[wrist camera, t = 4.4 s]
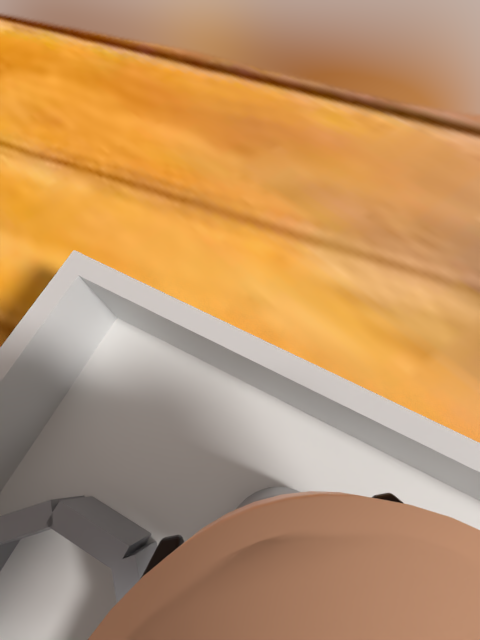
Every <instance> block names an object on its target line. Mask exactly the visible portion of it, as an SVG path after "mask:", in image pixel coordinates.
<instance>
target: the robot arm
mask: <svg viewBox="0 0 480 640" xmlns="http://www.w3.org/2000/svg"><path fill="white" fill-rule="evenodd" d="M372 498H377V499H382V500H387V501H393V502H398V503H403V502H402V501H401V500H399V499H398V498H397V497H396V496H395V495H393V494H391V493H383V494H378V495H374V496H373V497H372ZM183 543H184V540H183V537H182V536H181V535H173V536H168V537H164V538H162V539H161V541H160V542H159V544H158V546H157V548H156V550H155V552H154V554H153V556H152V557H151V559H150V561H149V563H148V565H147V567H146V569H145V571H144V573H143V575H142V577H143V576H144V575H145V574H146V573H148V572H149V571H150V570H151V569H153V568H154V567H155V566H156V565H157V564H159V563H160V562H161V561H162V560H163V559H165V558H166V557H167V556H168V555H169V554H171V553H172V552H173V551H174V550H176V549H177V548H178V547H179V546H180V545H182V544H183ZM142 577H141V578H142Z"/></svg>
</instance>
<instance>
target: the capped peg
mask: <svg viewBox="0 0 480 640" xmlns="http://www.w3.org/2000/svg"><path fill="white" fill-rule="evenodd" d="M88 640H480V530H479V529H476V528H474V527H472V526H470V525H467V524H465V523H463V522H461V521H459V520H456V519H454V518H452V517H448V516H445V515H442V514H439V513H436V512H432V511H429V510H426V509H423V508H419V507H416V506H413V505H409V504H404V503H398V502H393V501H387V500H382V499H377V498H371V497H366V496H360V495H354V494H348V493H342V492H321V491H308V492H299V491H297V490H294V489H291V488H285V487H270V488H266V489H262V490H260V491H257V492H255V493H253V494H252V495H250V496H249V497H247V498H246V499H245V500H244V501H243V502H242V503H241V504H240V505H239V506H238V507H237V508H236V510H234V511H231V512H229V513H227V514H225V515H223V516H222V517H220V518H218V519H217V520H215V521H213V522H212V523H210V524H208V525H207V526H205V527H203V528H202V529H201V530H199V531H198V532H197V533H196V534H194V535H193V536H192V537H191V538H189V539H188V540H187V541H185V542H184V543H183V544H182V545H180V546H179V547H178V548H177V549H176V550H174V551H173V552H172V553H171V554H169V555H168V556H167V557H166V558H165V559H163V560H162V561H161V562H160V563H159V564H157V565H156V566H155V567H154V568H153V569H151V570H150V571H149V572H148V573H146V574H145V575H144V576H143V577H142V578H141V579H140V580H139V581H138V582H137V583H136V584H135V585H134V586H133V587H132V588H131V589H130V590H129V591H128V592H127V593H126V594H125V595H124V596H123V598H122V599H121V600H120V601H119V602H118V603H117V604H116V605H115V606H114V607H113V608H112V609H111V610H110V611H109V612H108V614H107V615H106V616H105V618H104V619H103V620H102V622H101V623H100V624H99V625H98V627H97V628H96V629H95V631H94V632H93V633H92V635H91V636H90V637H89V638H88Z"/></svg>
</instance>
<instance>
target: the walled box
mask: <svg viewBox="0 0 480 640" xmlns="http://www.w3.org/2000/svg"><path fill="white" fill-rule="evenodd" d="M270 487H285V488H291V489H294V490H297V491H299V492H308V491H321V492H342V493H348V494H354V495H360V496H366V497H371V498H372V497H373V496H374V495H378V494H383V493H391V494H393V495H395V496H396V497H397V498H398V499H399V500H401V501H402V502H403V503H404V504H409V505H413V506H416V507H419V508H423V509H426V510H429V511H432V512H436V513H439V514H442V515H445V516H448V517H452V518H454V519H456V520H459V521H461V522H463V523H465V524H467V525H470V526H472V527H474V528H476V529H479V530H480V443H479V442H476V441H474V440H472V439H470V438H468V437H466V436H464V435H462V434H460V433H457V432H455V431H453V430H451V429H449V428H447V427H445V426H443V425H441V424H439V423H436V422H434V421H432V420H430V419H428V418H426V417H424V416H422V415H420V414H418V413H415V412H413V411H411V410H409V409H407V408H405V407H403V406H401V405H399V404H397V403H394V402H392V401H390V400H388V399H386V398H384V397H382V396H380V395H378V394H375V393H373V392H371V391H369V390H367V389H365V388H363V387H361V386H359V385H357V384H354V383H352V382H350V381H348V380H346V379H344V378H342V377H340V376H338V375H336V374H333V373H331V372H329V371H327V370H325V369H323V368H321V367H319V366H317V365H315V364H312V363H310V362H308V361H306V360H304V359H302V358H300V357H298V356H296V355H293V354H291V353H289V352H287V351H285V350H283V349H281V348H279V347H277V346H275V345H272V344H270V343H268V342H266V341H264V340H262V339H260V338H258V337H256V336H254V335H251V334H249V333H247V332H245V331H243V330H241V329H239V328H237V327H235V326H233V325H230V324H228V323H226V322H224V321H222V320H220V319H218V318H216V317H214V316H211V315H209V314H207V313H205V312H203V311H201V310H199V309H197V308H195V307H193V306H190V305H188V304H186V303H184V302H182V301H180V300H178V299H176V298H174V297H172V296H169V295H167V294H165V293H163V292H161V291H159V290H157V289H155V288H153V287H151V286H148V285H146V284H144V283H142V282H140V281H138V280H136V279H134V278H132V277H129V276H127V275H125V274H123V273H121V272H119V271H117V270H115V269H113V268H111V267H108V266H106V265H104V264H102V263H100V262H98V261H96V260H94V259H92V258H90V257H87V256H85V255H83V254H81V253H79V252H77V251H75V250H73V252H72V253H71V254H70V256H69V257H68V258H67V260H66V261H65V262H64V264H63V265H62V266H61V268H60V269H59V270H58V272H57V273H56V274H55V276H54V277H53V278H52V280H51V281H50V282H49V284H48V285H47V286H46V288H45V289H44V290H43V292H42V293H41V294H40V296H39V297H38V298H37V300H36V301H35V302H34V304H33V305H32V306H31V308H30V309H29V310H28V312H27V313H26V314H25V315H24V317H23V318H22V319H21V321H20V322H19V323H18V325H17V326H16V327H15V329H14V330H13V331H12V333H11V334H10V335H9V337H8V338H7V339H6V341H5V342H4V343H3V345H2V346H1V347H0V640H88V638H89V637H90V636H91V635H92V633H93V632H94V631H95V629H96V628H97V627H98V625H99V624H100V623H101V622H102V620H103V619H104V618H105V616H106V615H107V614H108V612H109V611H110V610H111V609H112V608H113V607H114V606H115V605H116V604H117V603H118V602H119V601H120V600H121V599H122V598H123V596H124V595H125V594H126V593H127V592H128V591H129V590H130V589H131V588H132V587H133V586H134V585H135V584H136V583H137V582H138V581H139V580H140V579H141V577H142V575H143V573H144V571H145V569H146V567H147V565H148V563H149V561H150V559H151V557H152V556H153V554H154V552H155V550H156V548H157V546H158V544H159V542H160V541H161V539H162V538H164V537H168V536H173V535H181V536H182V537H183V540H184V542H185V541H187V540H188V539H189V538H191V537H192V536H193V535H194V534H196V533H197V532H198V531H199V530H201V529H202V528H203V527H205V526H207V525H208V524H210V523H212V522H213V521H215V520H217V519H218V518H220V517H222V516H223V515H225V514H227V513H229V512H231V511H234V510H236V508H237V507H238V506H239V505H240V504H241V503H242V502H243V501H244V500H245V499H246V498H247V497H249V496H250V495H252V494H253V493H255V492H257V491H260V490H262V489H266V488H270Z"/></svg>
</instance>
